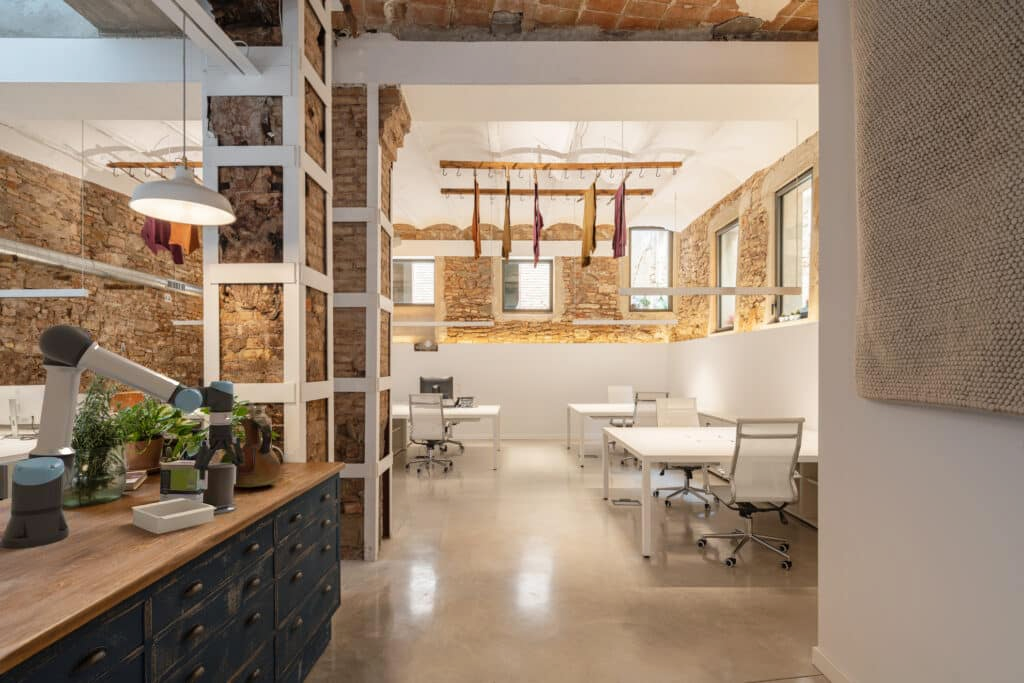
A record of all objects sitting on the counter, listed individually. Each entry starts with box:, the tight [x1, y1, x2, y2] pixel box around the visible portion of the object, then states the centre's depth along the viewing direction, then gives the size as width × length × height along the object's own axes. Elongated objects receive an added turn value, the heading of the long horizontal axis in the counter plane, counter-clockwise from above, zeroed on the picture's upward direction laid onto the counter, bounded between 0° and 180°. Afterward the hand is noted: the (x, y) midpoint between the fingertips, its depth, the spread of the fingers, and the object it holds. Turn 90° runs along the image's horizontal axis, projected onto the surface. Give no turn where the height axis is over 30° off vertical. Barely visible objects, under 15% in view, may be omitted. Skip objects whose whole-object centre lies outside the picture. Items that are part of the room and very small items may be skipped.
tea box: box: [159, 460, 214, 503], centre depth 213 cm, size 15×10×15 cm, turn 84°
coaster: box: [214, 503, 238, 516], centre depth 200 cm, size 12×12×1 cm
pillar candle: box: [202, 461, 235, 507], centre depth 200 cm, size 10×10×15 cm
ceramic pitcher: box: [234, 416, 282, 488], centre depth 238 cm, size 20×20×30 cm
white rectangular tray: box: [130, 498, 217, 535], centre depth 184 cm, size 17×23×5 cm
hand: (218, 486), depth 200 cm, fingers closed on pillar candle, 10 cm apart
